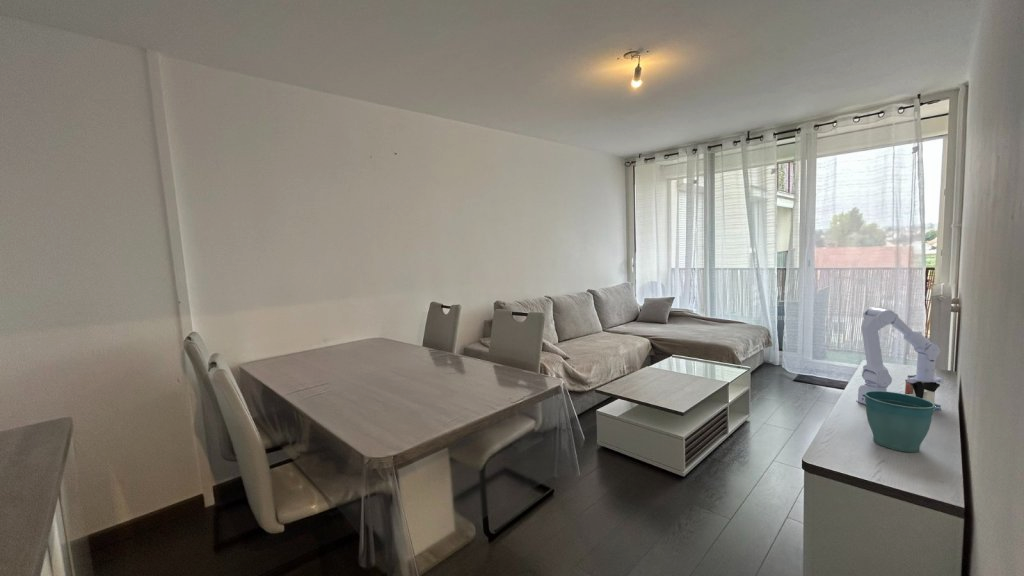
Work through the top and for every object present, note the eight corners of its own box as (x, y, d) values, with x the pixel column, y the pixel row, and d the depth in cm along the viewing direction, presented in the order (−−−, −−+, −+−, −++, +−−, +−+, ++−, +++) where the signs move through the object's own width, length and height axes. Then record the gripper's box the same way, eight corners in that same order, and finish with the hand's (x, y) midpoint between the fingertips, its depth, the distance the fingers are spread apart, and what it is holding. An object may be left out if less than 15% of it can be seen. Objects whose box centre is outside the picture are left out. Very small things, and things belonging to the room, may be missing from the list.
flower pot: (861, 429, 157) (863, 387, 156) (927, 443, 145) (930, 397, 144) (862, 446, 143) (865, 400, 142) (935, 462, 131) (939, 412, 130)
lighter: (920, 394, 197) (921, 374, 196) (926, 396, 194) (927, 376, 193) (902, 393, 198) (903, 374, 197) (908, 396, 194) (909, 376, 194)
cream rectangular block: (926, 407, 179) (927, 392, 179) (912, 403, 185) (913, 388, 185) (933, 407, 180) (934, 392, 179) (919, 403, 185) (920, 388, 185)
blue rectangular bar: (930, 410, 177) (930, 408, 177) (927, 409, 178) (927, 407, 178) (940, 409, 177) (941, 408, 177) (938, 408, 178) (938, 407, 178)
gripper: (919, 371, 177) (917, 401, 178) (951, 370, 177) (948, 400, 178) (903, 367, 184) (901, 396, 185) (933, 366, 184) (931, 395, 185)
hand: (923, 398), depth 182 cm, fingers open, 4 cm apart
